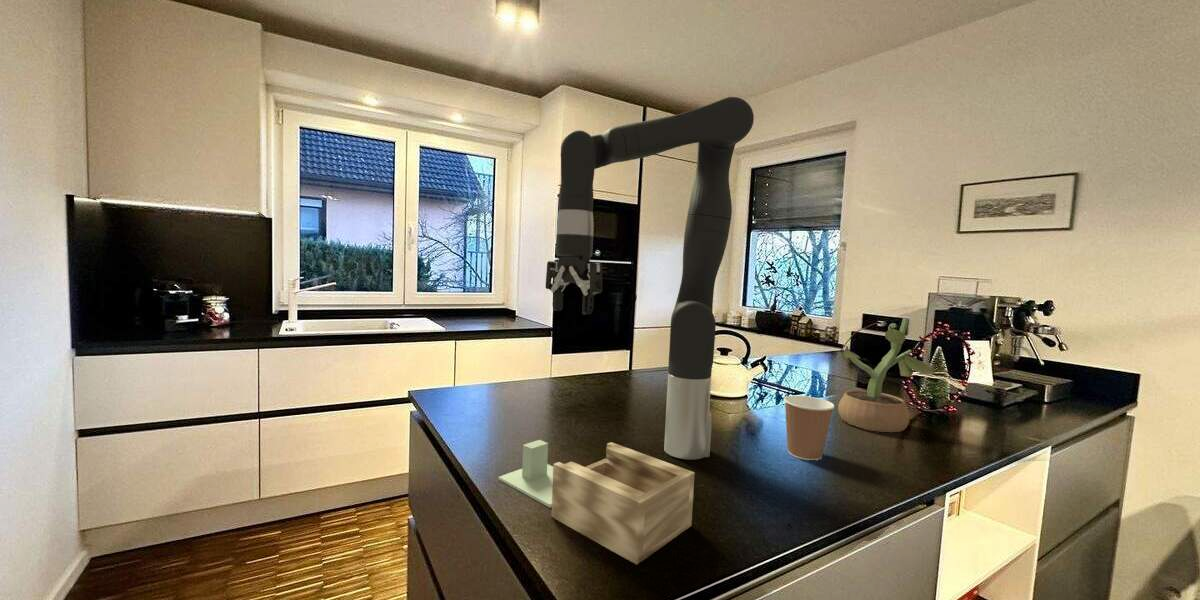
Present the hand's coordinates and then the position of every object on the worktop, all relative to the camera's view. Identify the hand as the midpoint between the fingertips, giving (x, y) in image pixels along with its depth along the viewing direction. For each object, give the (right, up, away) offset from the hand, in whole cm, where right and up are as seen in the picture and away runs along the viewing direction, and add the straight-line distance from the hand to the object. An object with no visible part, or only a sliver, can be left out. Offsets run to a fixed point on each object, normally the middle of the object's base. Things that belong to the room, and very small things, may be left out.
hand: (571, 312), depth 99 cm
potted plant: (+80, -32, +28) cm, 91 cm away
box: (+9, -32, -24) cm, 41 cm away
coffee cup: (+51, -32, +7) cm, 61 cm away
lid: (-4, -31, -12) cm, 34 cm away
